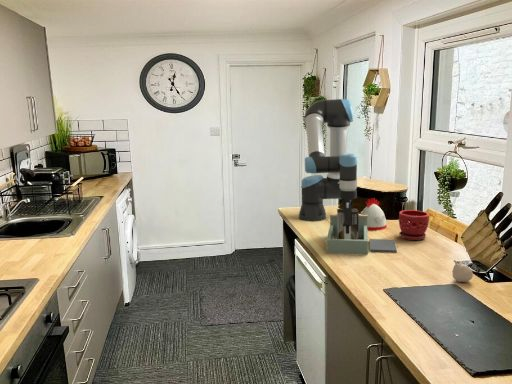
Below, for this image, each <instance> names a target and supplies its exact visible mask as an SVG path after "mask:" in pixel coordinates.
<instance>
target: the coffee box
mask: <svg viewBox="0 0 512 384" xmlns="http://www.w3.org/2000/svg"><path fill="white" fill-rule="evenodd" d="M336 211H337V213H336V214H337V235H338V237H337V239H344V226H343V224H344V223H345V212H344V208H337V209H336ZM359 213H360V212H359V209H358V208H352V212H351V216H350V224H351V239H352V240H360V238H359V215H360V214H359Z"/></svg>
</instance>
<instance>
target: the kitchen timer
mask: <svg viewBox="0 0 512 384" xmlns="http://www.w3.org/2000/svg"><path fill="white" fill-rule="evenodd" d="M365 204H366V207H365V208H363V210H362V211H360V215H368V218H367V231H382V230H386V229H387V219H386V216H385V213H384V211H383V210H382V209H381V207H380V201H378V199H376V198H375V197H373V198H368V199H367V201H365Z"/></svg>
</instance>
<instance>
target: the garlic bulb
mask: <svg viewBox="0 0 512 384" xmlns="http://www.w3.org/2000/svg"><path fill="white" fill-rule="evenodd" d="M453 263H454V266H453V268H452V271H451V272H452V278H453V279H454V280H455V281H456V282H459V283H462V282H463V283H466V282H470V281H471V280H472V279H473V278H474V274H473V270H472V269H471V267H469V266H468V265H467V264H464V263H458V261H456V260H455V259H454V260H453Z"/></svg>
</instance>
